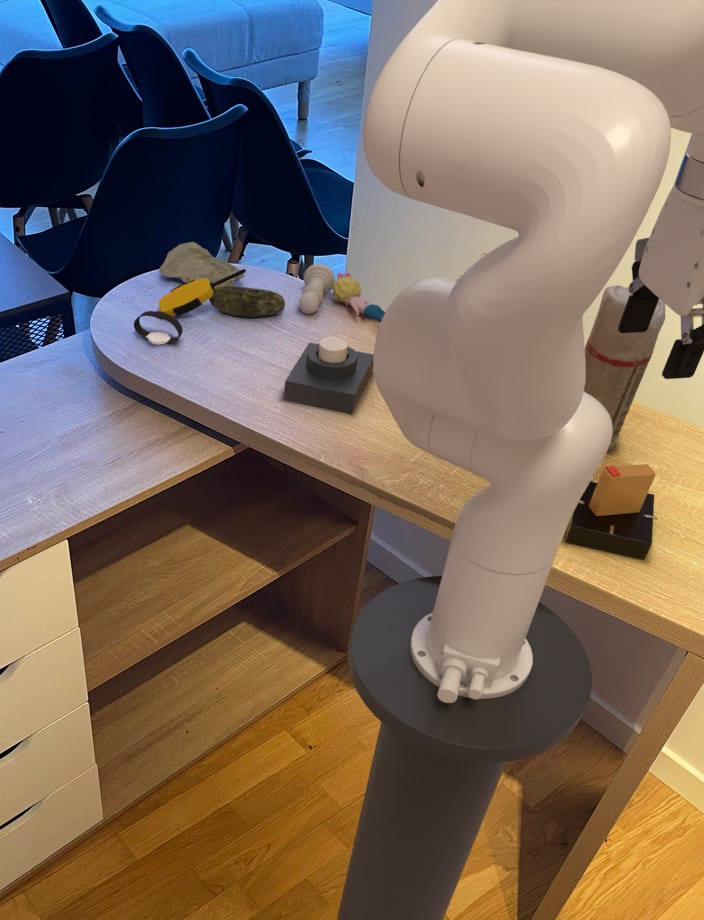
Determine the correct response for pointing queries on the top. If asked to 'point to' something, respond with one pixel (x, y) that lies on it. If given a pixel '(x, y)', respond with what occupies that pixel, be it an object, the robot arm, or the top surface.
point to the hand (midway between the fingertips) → (653, 353)
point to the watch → (158, 336)
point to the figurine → (355, 297)
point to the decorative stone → (247, 301)
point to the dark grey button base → (329, 380)
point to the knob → (621, 489)
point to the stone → (197, 265)
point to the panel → (612, 528)
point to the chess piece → (315, 287)
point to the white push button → (333, 349)
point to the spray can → (618, 356)
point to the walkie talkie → (190, 295)
